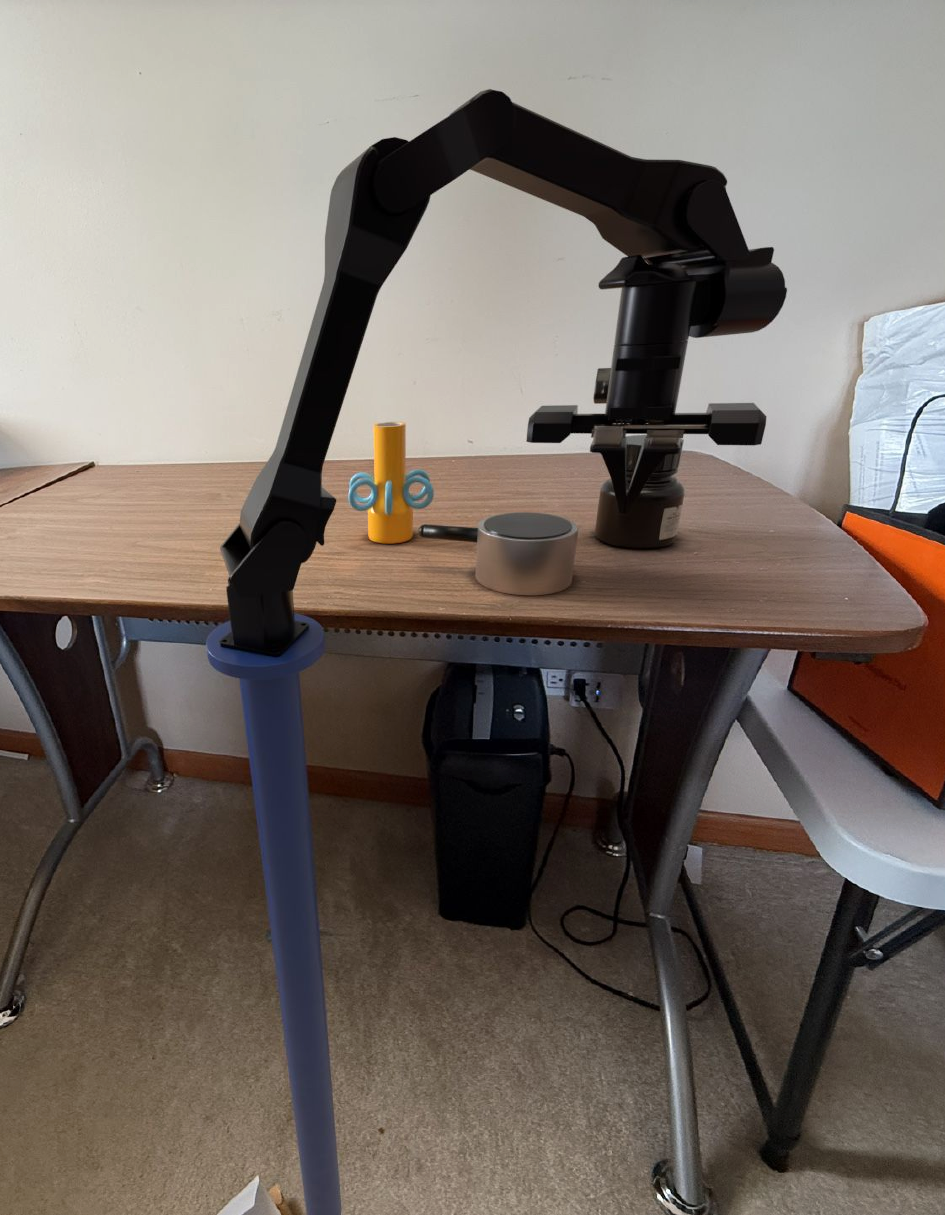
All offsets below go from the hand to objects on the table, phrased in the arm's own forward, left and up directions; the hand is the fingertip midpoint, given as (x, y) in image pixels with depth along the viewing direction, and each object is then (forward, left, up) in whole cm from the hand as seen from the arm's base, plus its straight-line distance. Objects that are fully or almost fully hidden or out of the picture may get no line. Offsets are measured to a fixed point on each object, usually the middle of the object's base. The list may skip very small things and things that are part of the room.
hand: (623, 513), depth 62 cm
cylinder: (+10, +27, -8) cm, 30 cm away
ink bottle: (+17, -2, -8) cm, 18 cm away
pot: (0, +12, -8) cm, 15 cm away
